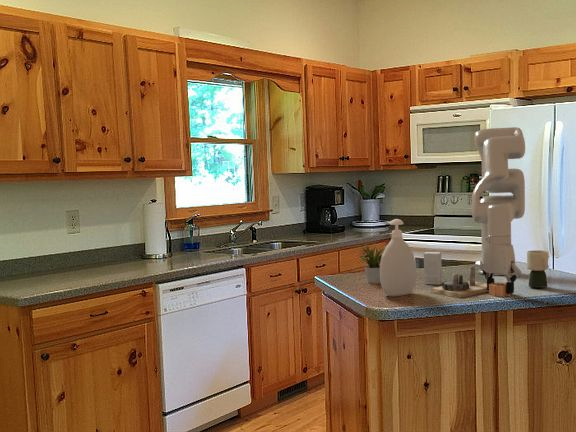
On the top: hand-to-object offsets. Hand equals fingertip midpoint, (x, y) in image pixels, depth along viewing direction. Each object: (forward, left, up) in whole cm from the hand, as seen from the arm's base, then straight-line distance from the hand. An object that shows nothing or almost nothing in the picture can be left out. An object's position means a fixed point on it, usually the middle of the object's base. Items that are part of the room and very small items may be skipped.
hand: (500, 291), depth 202 cm
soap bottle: (-24, -25, -1) cm, 35 cm away
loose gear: (0, 0, -1) cm, 1 cm away
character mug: (+2, +18, -1) cm, 18 cm away
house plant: (-48, -17, -1) cm, 51 cm away
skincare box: (-29, -2, -1) cm, 29 cm away
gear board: (-12, -4, -1) cm, 13 cm away
